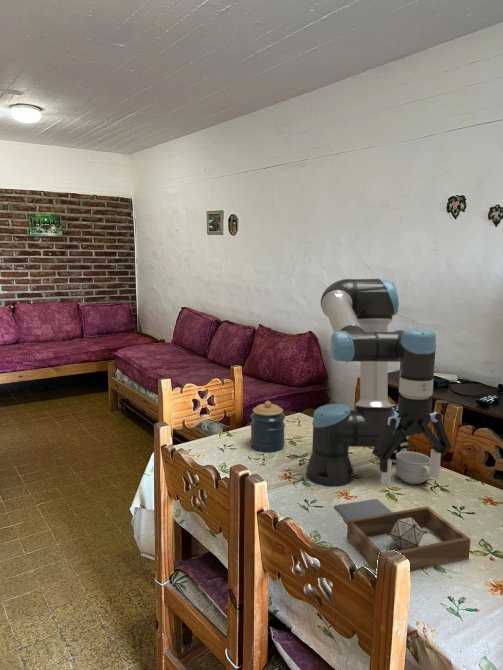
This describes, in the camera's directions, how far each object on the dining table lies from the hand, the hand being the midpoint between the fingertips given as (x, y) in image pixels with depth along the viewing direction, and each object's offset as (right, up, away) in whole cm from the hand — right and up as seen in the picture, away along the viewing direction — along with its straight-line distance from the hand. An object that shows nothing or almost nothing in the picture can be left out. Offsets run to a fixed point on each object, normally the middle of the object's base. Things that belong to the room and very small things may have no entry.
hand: (410, 480), depth 118 cm
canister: (-32, -7, +67) cm, 75 cm away
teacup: (+14, -12, +38) cm, 43 cm away
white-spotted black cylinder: (+12, -10, +53) cm, 56 cm away
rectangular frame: (0, -18, +3) cm, 18 cm away
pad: (-6, -15, +19) cm, 25 cm away
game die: (0, -18, +3) cm, 18 cm away
